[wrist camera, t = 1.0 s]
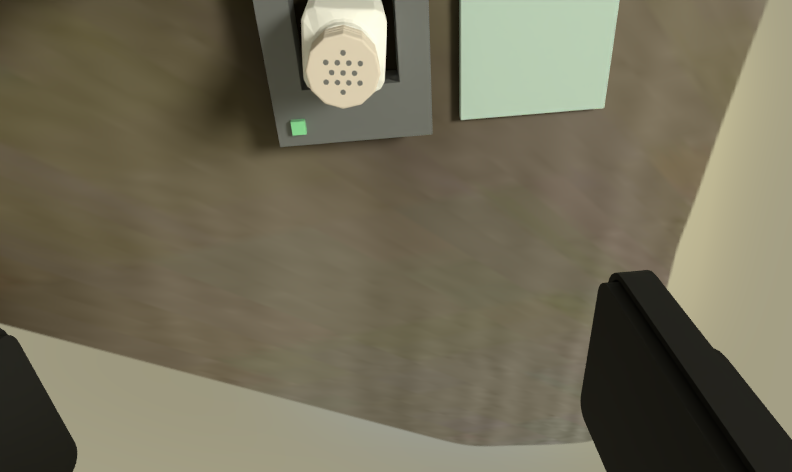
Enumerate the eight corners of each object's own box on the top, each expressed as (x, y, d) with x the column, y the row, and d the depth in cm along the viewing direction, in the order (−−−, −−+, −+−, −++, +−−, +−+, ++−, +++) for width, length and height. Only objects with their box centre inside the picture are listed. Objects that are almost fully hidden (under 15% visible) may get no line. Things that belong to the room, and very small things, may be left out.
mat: (458, -107, 29) (460, -107, 28) (631, -120, 29) (636, -120, 28) (459, 116, 35) (460, 120, 35) (600, 104, 35) (604, 108, 35)
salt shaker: (379, 61, 33) (387, 118, 25) (311, 59, 33) (297, 116, 25) (382, -12, 31) (391, 25, 23) (309, -15, 31) (293, 22, 23)
